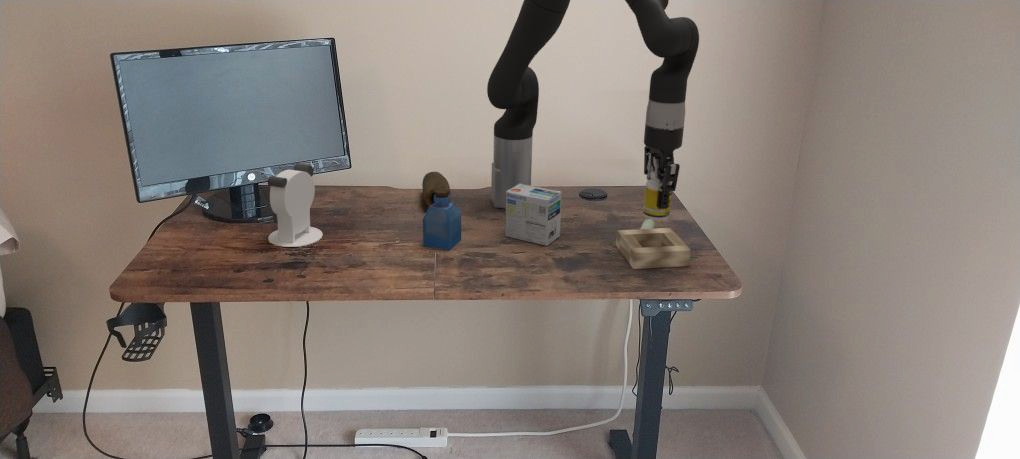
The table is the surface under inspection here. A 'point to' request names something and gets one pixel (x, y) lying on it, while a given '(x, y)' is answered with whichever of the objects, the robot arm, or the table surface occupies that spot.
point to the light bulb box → (533, 214)
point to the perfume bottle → (442, 222)
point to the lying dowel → (648, 224)
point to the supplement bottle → (654, 200)
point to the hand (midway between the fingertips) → (657, 202)
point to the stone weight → (433, 186)
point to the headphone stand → (293, 207)
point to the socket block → (653, 248)
